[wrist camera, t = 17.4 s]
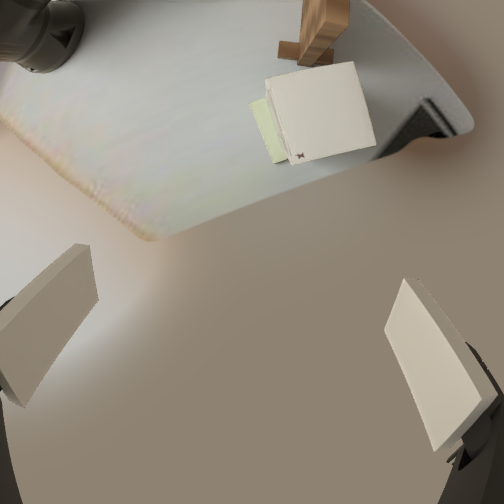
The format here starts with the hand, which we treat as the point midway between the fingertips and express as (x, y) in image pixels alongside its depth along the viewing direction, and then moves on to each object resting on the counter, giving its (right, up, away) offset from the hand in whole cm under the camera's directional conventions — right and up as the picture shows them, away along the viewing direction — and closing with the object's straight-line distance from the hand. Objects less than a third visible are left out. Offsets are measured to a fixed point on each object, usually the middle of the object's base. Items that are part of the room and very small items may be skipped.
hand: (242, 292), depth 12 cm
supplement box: (+8, +22, +29) cm, 37 cm away
